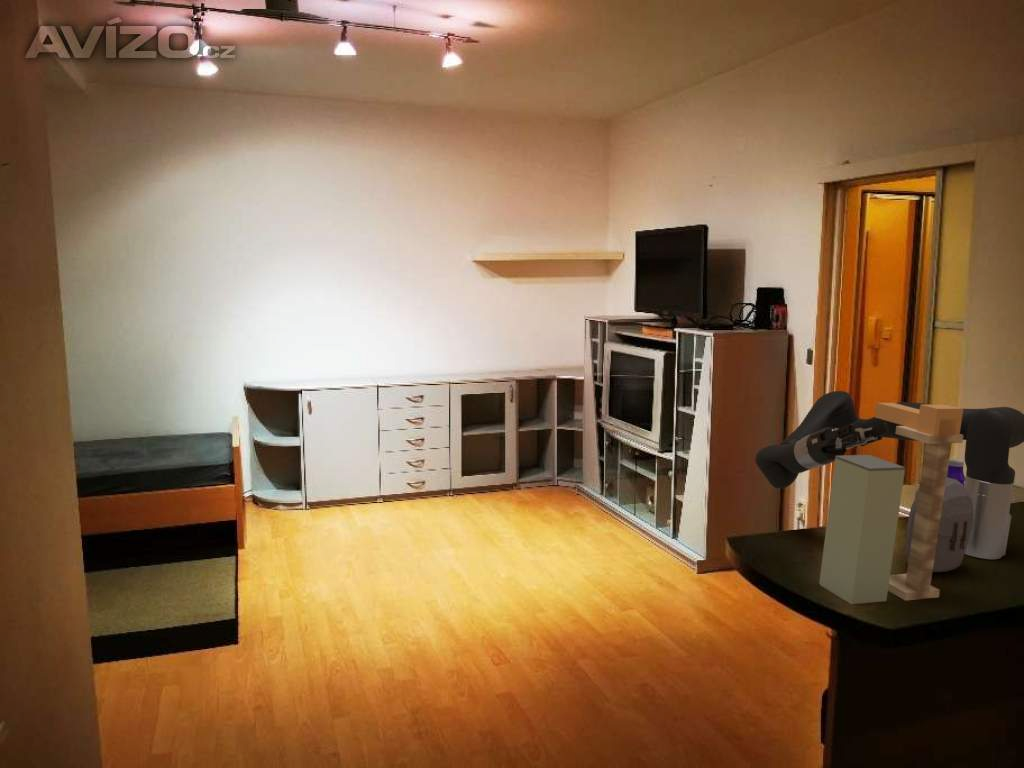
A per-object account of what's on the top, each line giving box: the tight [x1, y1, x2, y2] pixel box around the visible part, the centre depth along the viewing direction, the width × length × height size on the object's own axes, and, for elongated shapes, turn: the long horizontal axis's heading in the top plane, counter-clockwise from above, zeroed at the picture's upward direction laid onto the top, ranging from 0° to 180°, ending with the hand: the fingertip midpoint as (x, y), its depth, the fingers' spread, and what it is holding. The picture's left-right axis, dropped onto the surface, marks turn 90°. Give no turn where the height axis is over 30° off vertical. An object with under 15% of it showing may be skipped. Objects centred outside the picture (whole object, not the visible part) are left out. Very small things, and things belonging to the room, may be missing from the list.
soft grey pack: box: [905, 477, 973, 573], centre depth 164 cm, size 15×8×20 cm, turn 117°
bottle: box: [947, 457, 966, 485], centre depth 193 cm, size 7×6×17 cm
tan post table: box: [888, 426, 964, 602], centre depth 152 cm, size 8×8×32 cm
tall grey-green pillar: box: [818, 454, 906, 605], centre depth 150 cm, size 8×9×26 cm
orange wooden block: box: [874, 402, 964, 436], centre depth 152 cm, size 6×16×5 cm, turn 17°
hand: (870, 427), depth 163 cm, fingers open, 8 cm apart
